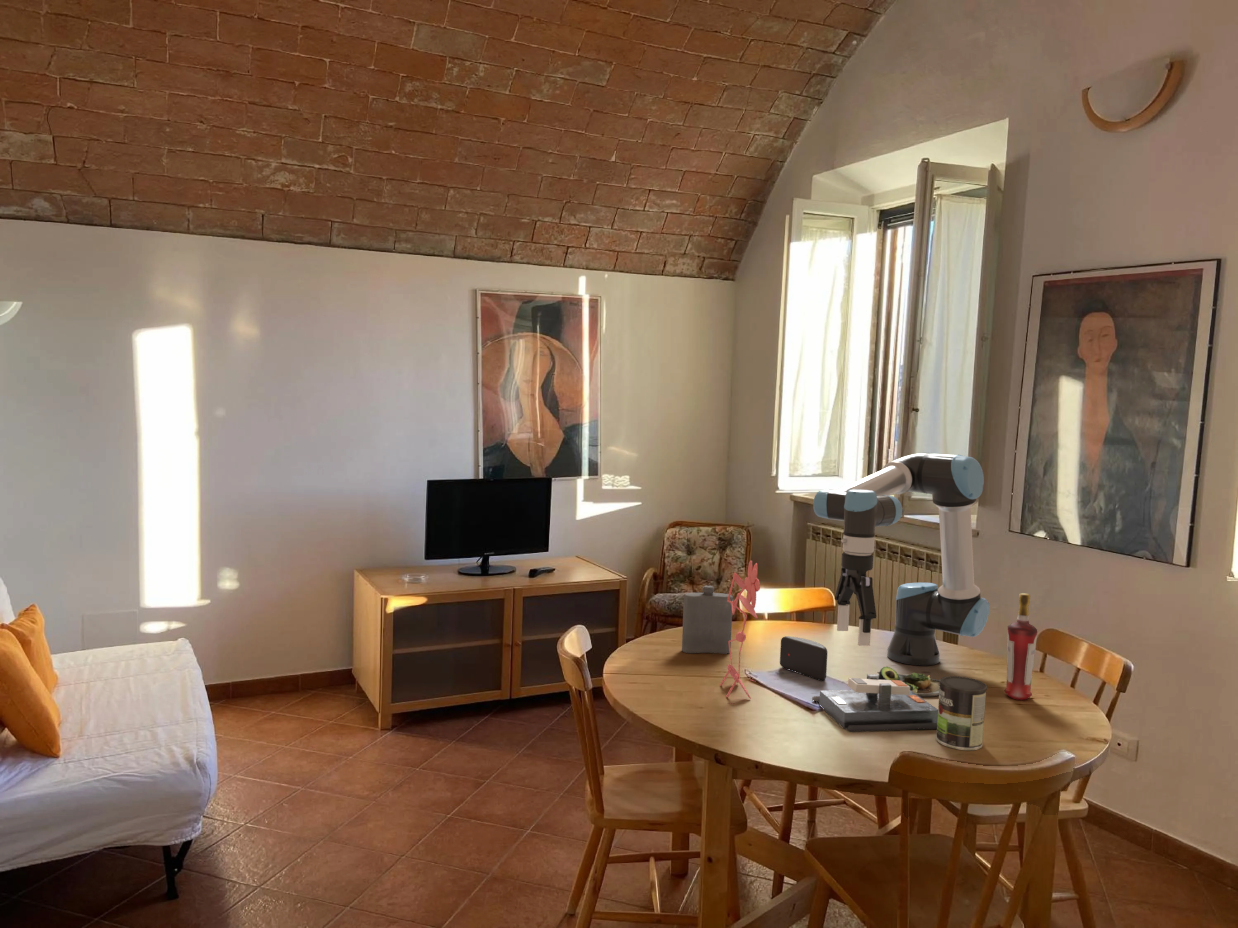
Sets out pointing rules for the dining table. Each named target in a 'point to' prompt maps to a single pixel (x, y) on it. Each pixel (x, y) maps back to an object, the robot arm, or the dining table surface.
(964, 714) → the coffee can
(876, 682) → the rocker
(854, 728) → the rods
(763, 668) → the dining table surface
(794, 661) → the black rounded flat block
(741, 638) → the figurine
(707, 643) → the flask
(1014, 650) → the liquor
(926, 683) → the salad plate
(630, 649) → the dining table surface
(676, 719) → the dining table surface
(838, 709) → the lever switch plate
